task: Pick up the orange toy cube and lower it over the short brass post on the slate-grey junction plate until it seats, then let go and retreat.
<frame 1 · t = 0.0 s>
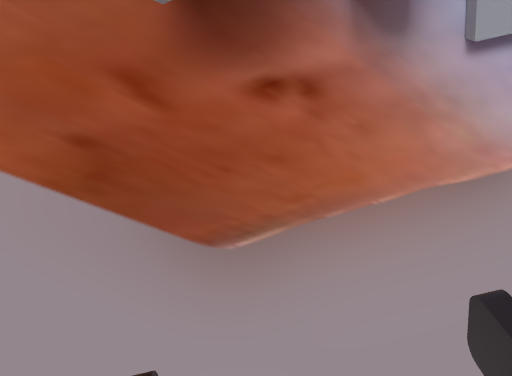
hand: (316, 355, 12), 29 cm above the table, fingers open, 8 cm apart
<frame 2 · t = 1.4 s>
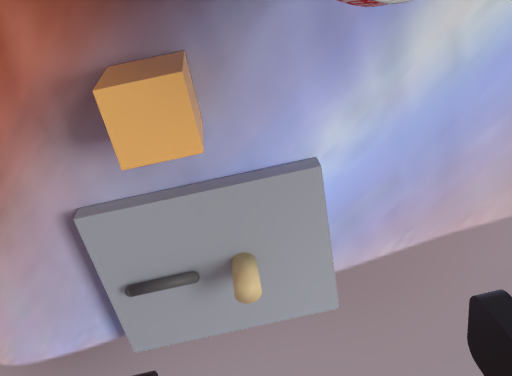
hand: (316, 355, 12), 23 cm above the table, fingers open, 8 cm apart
orange toy cube: (157, 95, 31), on the table
junction plate: (218, 256, 38), on the table
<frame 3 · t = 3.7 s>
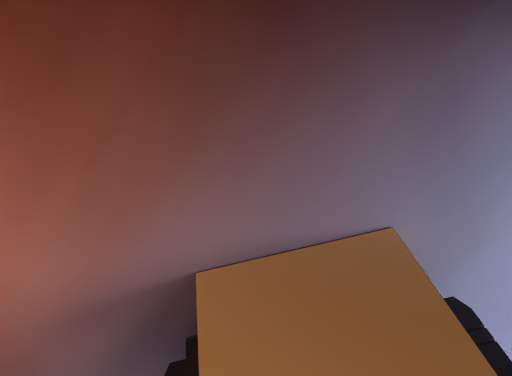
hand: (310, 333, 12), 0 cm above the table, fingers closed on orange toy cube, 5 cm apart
orange toy cube: (307, 322, 13), on the table, touching gripper
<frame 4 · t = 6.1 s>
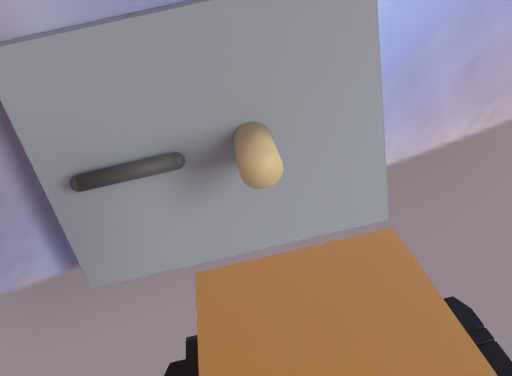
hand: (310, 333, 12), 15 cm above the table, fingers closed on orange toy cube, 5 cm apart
orange toy cube: (307, 322, 13), point 15 cm above the table, touching gripper
junction plate: (212, 137, 25), on the table
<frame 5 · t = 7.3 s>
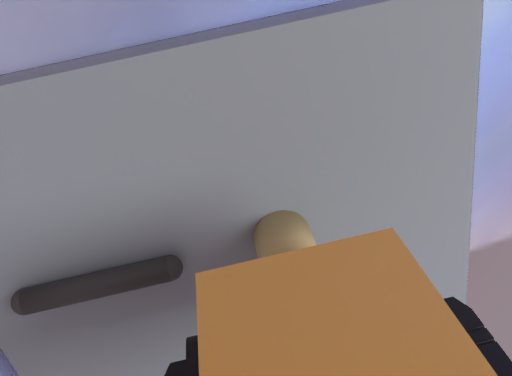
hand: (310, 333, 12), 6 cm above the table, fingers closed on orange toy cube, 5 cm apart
orange toy cube: (307, 322, 13), point 6 cm above the table, touching gripper
junction plate: (222, 223, 18), on the table
when the fingers open (3 cm above the table, at t = 8.4 s): orange toy cube stays where it is, resting on junction plate.
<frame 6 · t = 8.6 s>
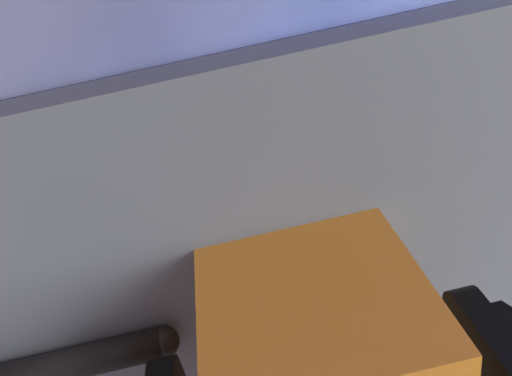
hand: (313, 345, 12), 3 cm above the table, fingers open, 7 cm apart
orange toy cube: (298, 298, 14), point 1 cm above the table, touching junction plate
junction plate: (227, 280, 15), on the table
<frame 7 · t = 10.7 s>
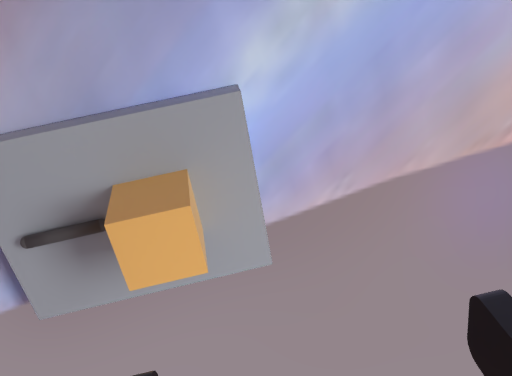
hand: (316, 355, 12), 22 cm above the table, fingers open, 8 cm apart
orange toy cube: (159, 208, 32), point 1 cm above the table, touching junction plate
junction plate: (132, 204, 34), on the table
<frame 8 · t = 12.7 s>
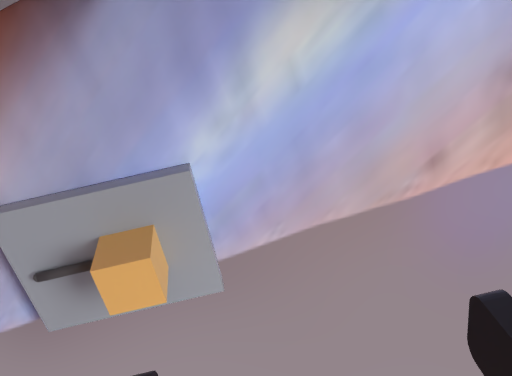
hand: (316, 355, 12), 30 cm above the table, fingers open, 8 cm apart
orange toy cube: (135, 252, 44), point 1 cm above the table, touching junction plate
junction plate: (116, 247, 45), on the table
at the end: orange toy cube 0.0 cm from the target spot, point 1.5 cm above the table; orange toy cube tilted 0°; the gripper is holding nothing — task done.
